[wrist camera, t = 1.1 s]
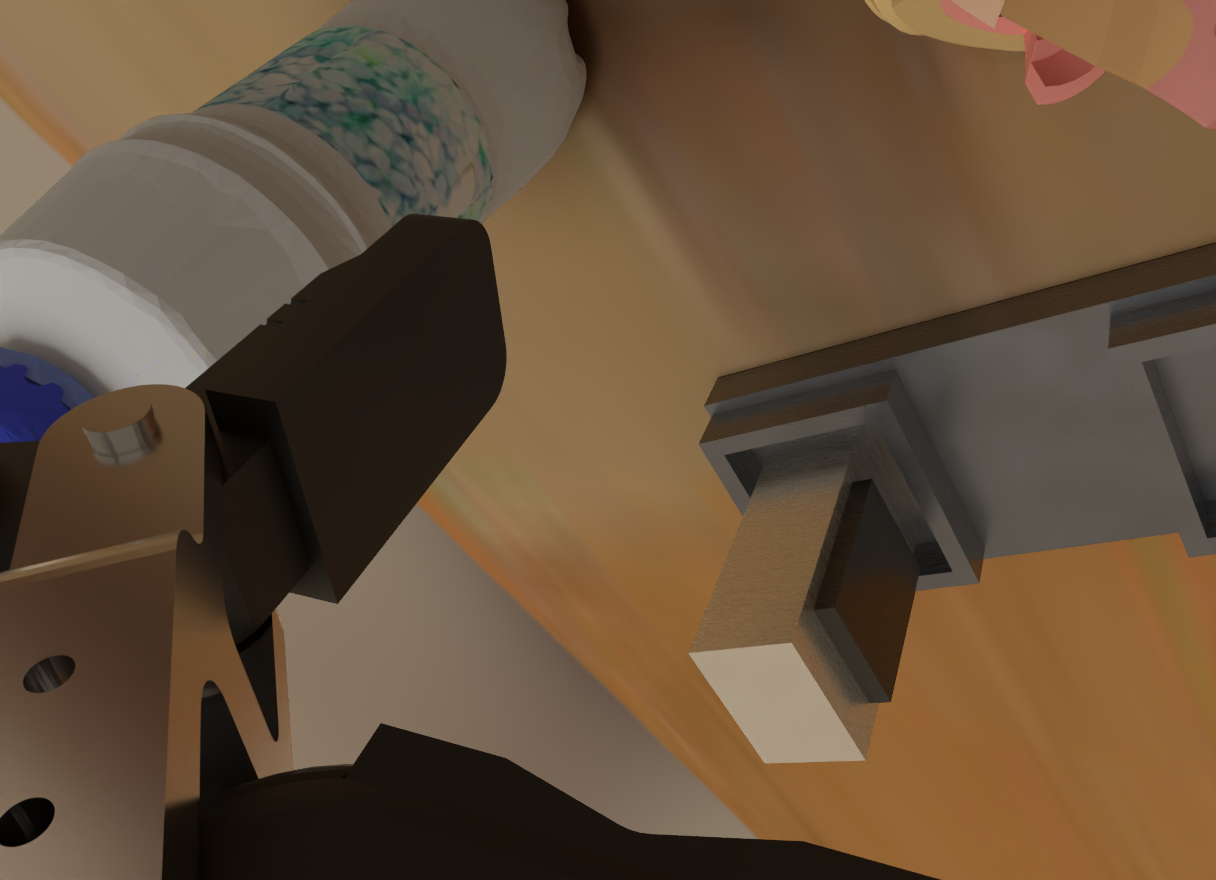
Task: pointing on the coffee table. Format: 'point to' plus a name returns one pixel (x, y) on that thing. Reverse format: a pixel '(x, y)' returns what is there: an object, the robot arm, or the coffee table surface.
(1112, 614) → the coffee table surface
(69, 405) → the bottle
